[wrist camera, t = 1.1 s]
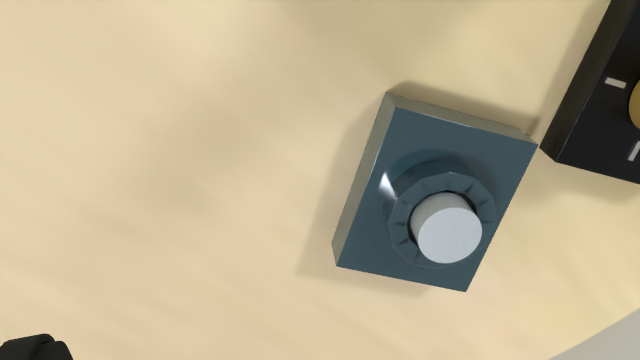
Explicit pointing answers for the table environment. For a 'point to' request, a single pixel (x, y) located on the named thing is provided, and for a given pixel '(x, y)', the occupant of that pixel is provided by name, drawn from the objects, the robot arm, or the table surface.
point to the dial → (635, 105)
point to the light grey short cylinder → (445, 227)
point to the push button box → (426, 187)
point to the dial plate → (602, 101)
